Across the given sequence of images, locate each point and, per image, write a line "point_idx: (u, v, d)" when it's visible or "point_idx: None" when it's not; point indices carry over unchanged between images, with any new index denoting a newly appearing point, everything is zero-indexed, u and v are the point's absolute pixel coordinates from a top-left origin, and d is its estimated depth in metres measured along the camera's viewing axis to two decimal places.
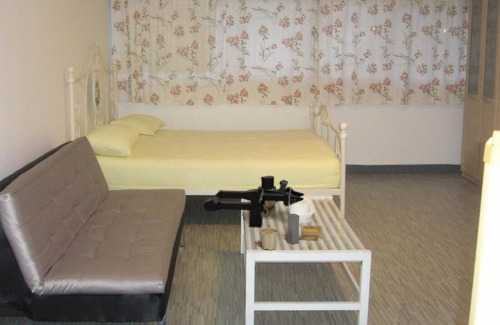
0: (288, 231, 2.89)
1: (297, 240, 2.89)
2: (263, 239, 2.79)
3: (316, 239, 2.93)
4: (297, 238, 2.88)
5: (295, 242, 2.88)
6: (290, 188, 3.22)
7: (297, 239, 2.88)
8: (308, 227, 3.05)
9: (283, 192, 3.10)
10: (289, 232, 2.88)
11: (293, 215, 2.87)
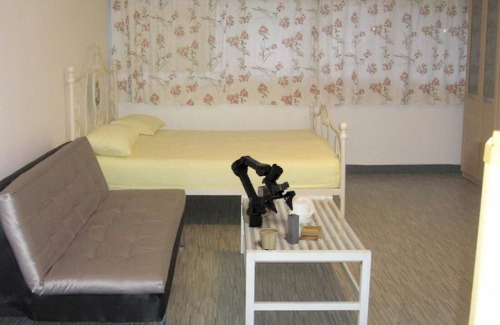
0: (288, 231, 2.89)
1: (297, 240, 2.89)
2: (263, 239, 2.79)
3: (316, 239, 2.93)
4: (297, 238, 2.88)
5: (295, 242, 2.88)
6: (294, 194, 3.00)
7: (297, 239, 2.88)
8: (308, 227, 3.05)
9: (273, 192, 2.95)
10: (289, 232, 2.88)
11: (293, 215, 2.87)
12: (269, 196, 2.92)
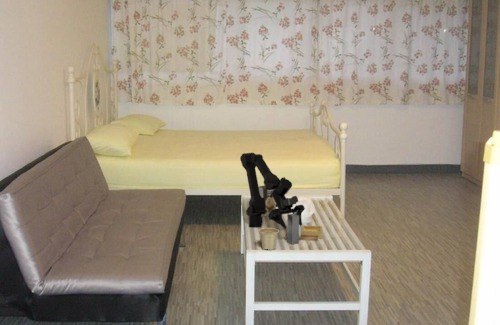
0: (288, 231, 2.89)
1: (297, 240, 2.89)
2: (263, 239, 2.79)
3: (316, 239, 2.93)
4: (297, 238, 2.88)
5: (295, 242, 2.88)
6: (303, 209, 2.95)
7: (297, 239, 2.88)
8: (308, 227, 3.05)
9: (282, 206, 2.90)
10: (289, 232, 2.88)
11: (293, 215, 2.87)
12: (277, 211, 2.86)
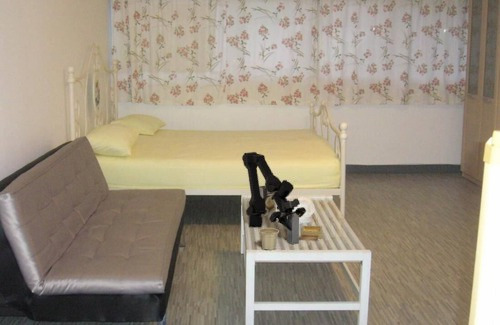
0: (288, 231, 2.89)
1: (297, 240, 2.89)
2: (263, 239, 2.79)
3: (316, 239, 2.93)
4: (297, 238, 2.88)
5: (295, 242, 2.88)
6: (305, 211, 2.94)
7: (297, 239, 2.88)
8: (308, 227, 3.05)
9: (283, 209, 2.89)
10: (289, 232, 2.88)
11: (293, 215, 2.87)
12: (279, 213, 2.86)
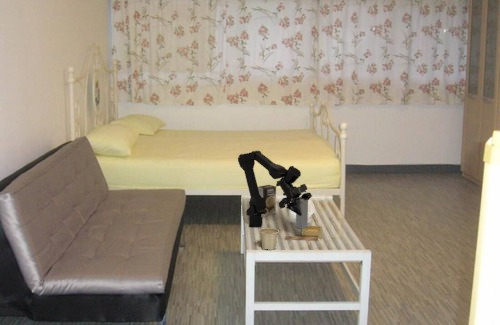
0: (297, 217, 2.91)
1: (306, 225, 2.92)
2: (263, 239, 2.79)
3: (316, 239, 2.93)
4: (306, 223, 2.91)
5: (304, 226, 2.91)
6: (310, 196, 2.97)
7: (306, 224, 2.91)
8: (308, 227, 3.05)
9: (291, 195, 2.91)
10: (298, 217, 2.90)
11: (302, 200, 2.89)
12: (289, 199, 2.87)
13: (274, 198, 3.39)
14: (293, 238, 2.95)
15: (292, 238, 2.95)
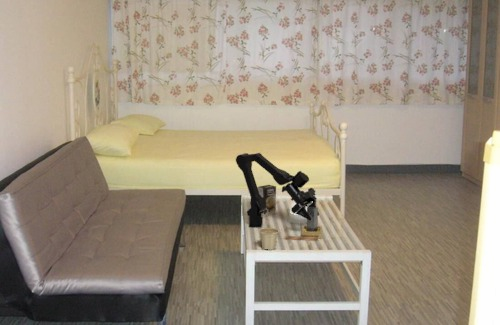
0: (308, 224, 2.99)
1: None
2: (263, 239, 2.79)
3: (316, 239, 2.93)
4: (316, 229, 3.01)
5: None
6: (315, 199, 3.07)
7: (316, 230, 3.01)
8: None
9: (302, 199, 2.98)
10: (310, 225, 2.99)
11: (313, 208, 2.98)
12: (302, 204, 2.94)
13: (274, 198, 3.39)
14: (293, 238, 2.95)
15: (292, 238, 2.95)
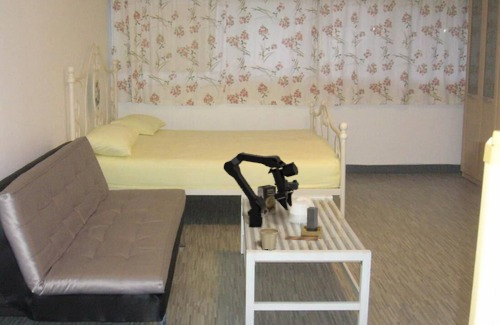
0: (308, 224, 2.99)
1: None
2: (263, 239, 2.79)
3: (316, 239, 2.93)
4: (316, 229, 3.01)
5: None
6: (292, 190, 3.16)
7: (316, 230, 3.01)
8: None
9: (286, 188, 3.05)
10: (310, 225, 2.99)
11: (313, 208, 2.98)
12: (286, 194, 3.01)
13: (274, 198, 3.39)
14: (293, 238, 2.95)
15: (292, 238, 2.95)
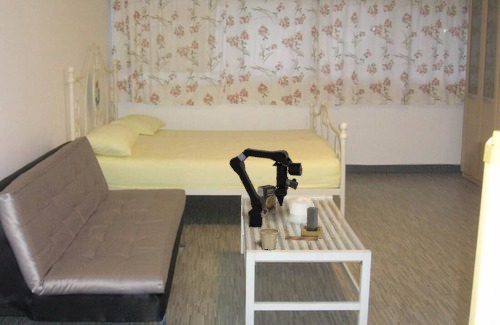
0: (308, 224, 2.99)
1: None
2: (263, 239, 2.79)
3: (316, 239, 2.93)
4: (316, 229, 3.01)
5: None
6: None
7: (316, 230, 3.01)
8: None
9: (286, 185, 3.07)
10: (310, 225, 2.99)
11: (313, 208, 2.98)
12: None
13: (274, 198, 3.39)
14: (293, 238, 2.95)
15: (292, 238, 2.95)
